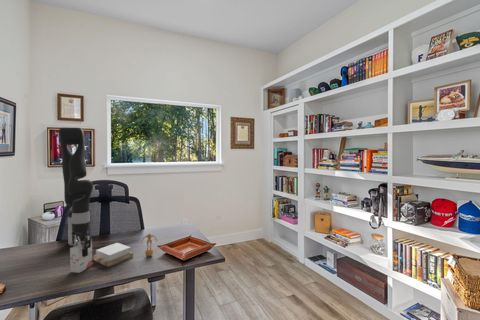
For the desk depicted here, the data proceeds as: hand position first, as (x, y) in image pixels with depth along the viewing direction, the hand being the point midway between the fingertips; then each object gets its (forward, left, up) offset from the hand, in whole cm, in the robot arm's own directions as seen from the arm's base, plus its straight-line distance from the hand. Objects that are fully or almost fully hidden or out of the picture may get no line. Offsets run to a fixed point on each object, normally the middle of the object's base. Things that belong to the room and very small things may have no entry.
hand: (81, 254), depth 122 cm
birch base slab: (+2, +15, -8) cm, 17 cm away
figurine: (+15, +28, -7) cm, 33 cm away
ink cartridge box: (0, 0, -7) cm, 7 cm away
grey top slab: (+2, +15, -5) cm, 16 cm away
